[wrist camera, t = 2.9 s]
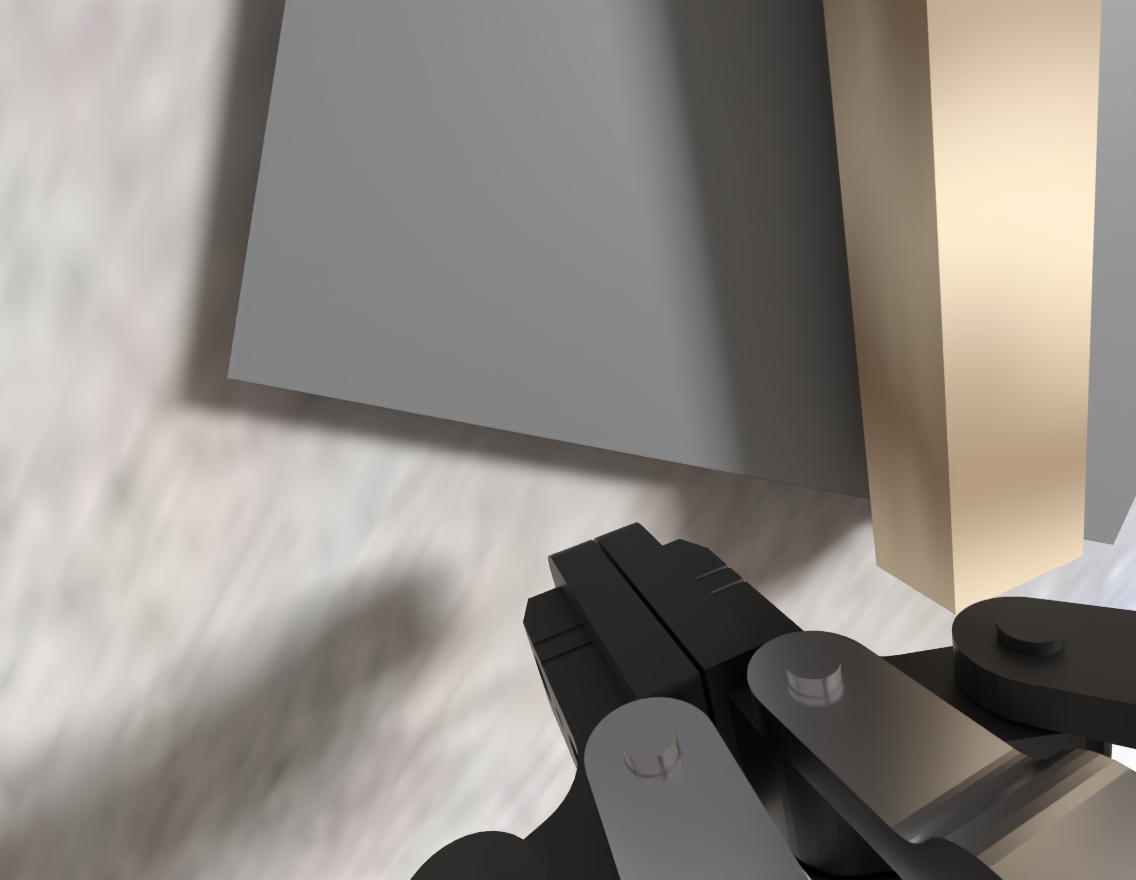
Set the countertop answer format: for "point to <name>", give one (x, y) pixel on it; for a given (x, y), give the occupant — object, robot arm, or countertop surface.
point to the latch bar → (970, 278)
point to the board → (608, 231)
